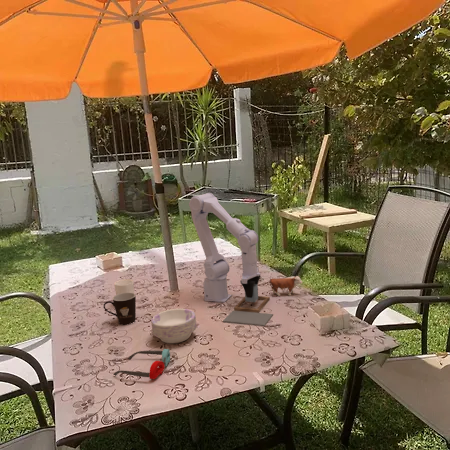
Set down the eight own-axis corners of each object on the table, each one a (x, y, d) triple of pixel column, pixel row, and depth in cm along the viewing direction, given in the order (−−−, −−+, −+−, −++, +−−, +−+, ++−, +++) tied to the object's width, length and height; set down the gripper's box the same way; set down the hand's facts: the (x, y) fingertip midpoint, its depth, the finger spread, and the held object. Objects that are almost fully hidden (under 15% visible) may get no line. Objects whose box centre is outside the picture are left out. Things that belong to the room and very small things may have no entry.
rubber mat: (222, 322, 172) (222, 320, 172) (233, 311, 181) (233, 310, 181) (264, 326, 166) (264, 324, 166) (273, 315, 175) (272, 314, 175)
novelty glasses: (157, 384, 134) (155, 368, 133) (110, 380, 138) (108, 365, 137) (174, 360, 147) (173, 345, 146) (131, 357, 151) (129, 343, 150)
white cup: (139, 303, 197) (137, 281, 195) (124, 309, 192) (121, 286, 190) (128, 300, 203) (126, 278, 201) (113, 306, 197) (110, 283, 195)
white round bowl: (148, 334, 166) (146, 313, 165) (189, 325, 172) (187, 304, 170) (160, 352, 153) (157, 329, 151) (203, 340, 158) (201, 318, 157)
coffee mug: (142, 317, 182) (139, 293, 180) (131, 326, 174) (128, 301, 172) (116, 315, 186) (113, 291, 184) (104, 324, 178) (101, 299, 176)
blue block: (245, 301, 185) (244, 286, 184) (248, 297, 189) (248, 283, 187) (255, 302, 184) (254, 287, 182) (258, 298, 187) (257, 284, 186)
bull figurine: (302, 296, 192) (301, 277, 190) (269, 296, 194) (268, 277, 193) (303, 292, 196) (302, 274, 194) (270, 292, 199) (269, 274, 197)
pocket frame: (234, 310, 182) (233, 307, 182) (246, 297, 195) (246, 295, 194) (258, 312, 178) (258, 309, 178) (269, 299, 191) (269, 296, 191)
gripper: (252, 268, 175) (255, 302, 178) (265, 257, 188) (266, 289, 191) (235, 267, 178) (237, 301, 180) (248, 256, 191) (250, 288, 193)
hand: (251, 295), depth 186 cm, fingers closed on blue block, 4 cm apart
